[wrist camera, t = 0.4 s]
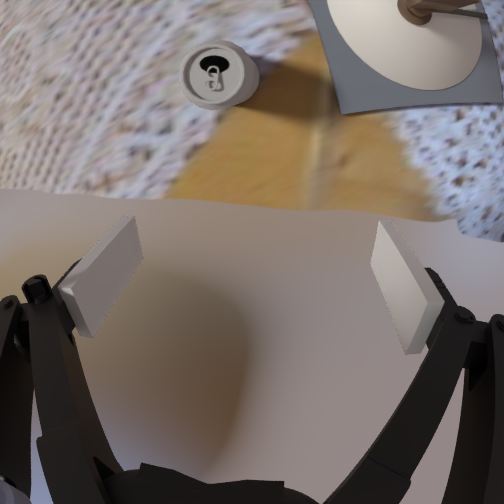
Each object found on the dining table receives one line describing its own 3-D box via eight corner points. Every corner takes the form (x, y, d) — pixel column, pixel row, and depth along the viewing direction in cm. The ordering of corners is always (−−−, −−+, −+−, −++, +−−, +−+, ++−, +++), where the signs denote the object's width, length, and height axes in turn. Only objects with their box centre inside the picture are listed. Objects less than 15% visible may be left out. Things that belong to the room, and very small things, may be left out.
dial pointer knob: (387, -8, 24) (423, -33, 14) (478, 2, 21) (524, -7, 11) (398, 25, 26) (438, 8, 17) (487, 31, 23) (535, 28, 13)
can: (263, 54, 32) (257, 40, 22) (255, 108, 36) (246, 115, 26) (206, 49, 32) (178, 36, 22) (199, 102, 36) (169, 108, 26)
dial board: (282, -61, 22) (283, -66, 21) (453, -54, 17) (458, -56, 15) (340, 113, 35) (343, 114, 34) (499, 101, 30) (505, 103, 28)
